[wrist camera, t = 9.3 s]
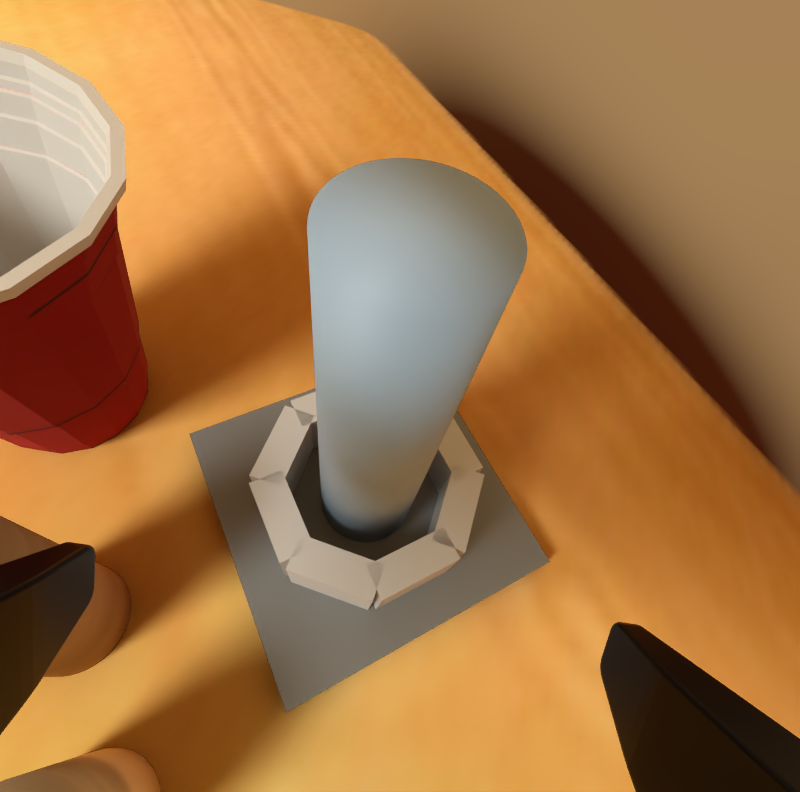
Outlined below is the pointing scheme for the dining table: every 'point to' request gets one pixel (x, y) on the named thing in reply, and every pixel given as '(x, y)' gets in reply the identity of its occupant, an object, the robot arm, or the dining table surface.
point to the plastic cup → (62, 262)
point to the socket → (353, 546)
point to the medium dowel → (99, 619)
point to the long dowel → (399, 325)
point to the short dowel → (90, 774)
